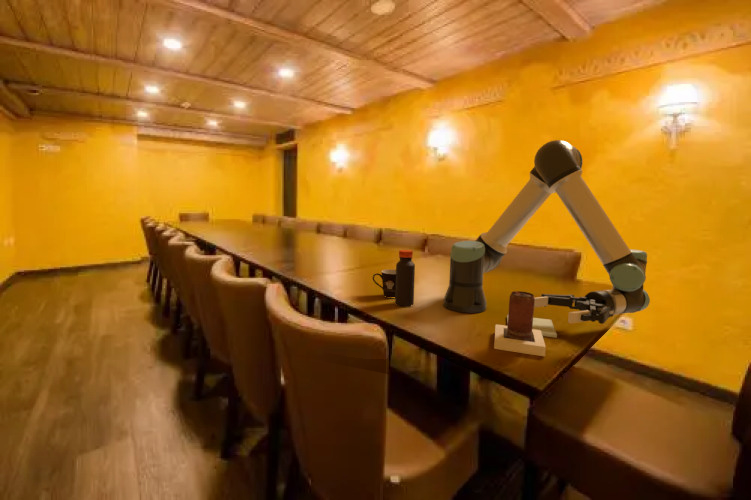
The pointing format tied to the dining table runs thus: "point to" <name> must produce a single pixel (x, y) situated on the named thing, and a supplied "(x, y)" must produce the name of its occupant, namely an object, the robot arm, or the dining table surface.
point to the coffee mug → (388, 282)
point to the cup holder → (519, 342)
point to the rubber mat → (543, 327)
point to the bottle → (405, 279)
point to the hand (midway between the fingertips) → (548, 310)
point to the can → (520, 316)
